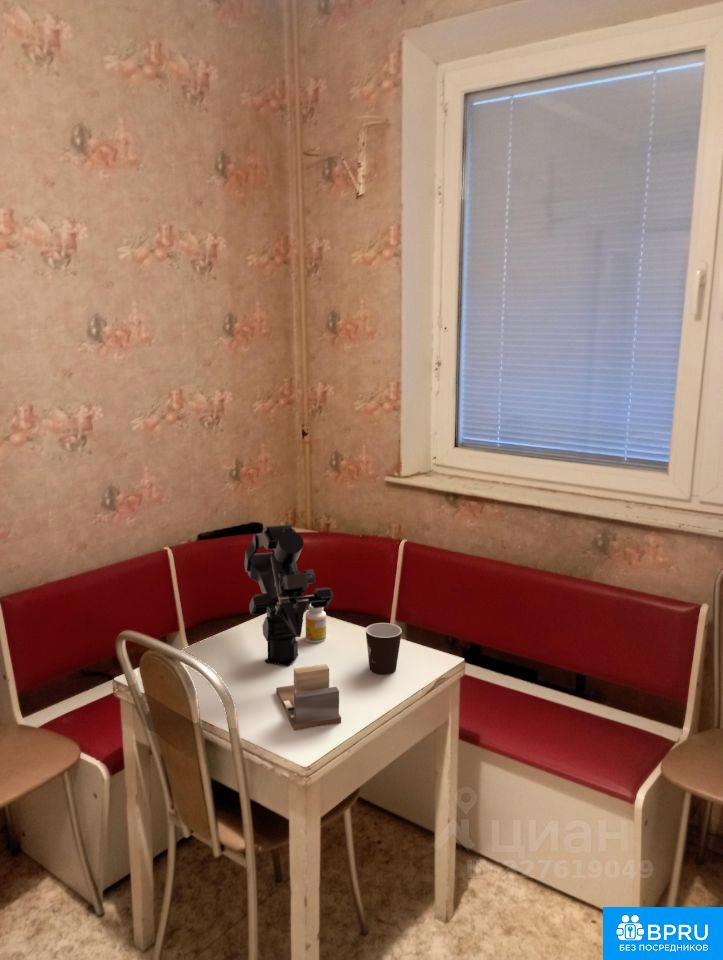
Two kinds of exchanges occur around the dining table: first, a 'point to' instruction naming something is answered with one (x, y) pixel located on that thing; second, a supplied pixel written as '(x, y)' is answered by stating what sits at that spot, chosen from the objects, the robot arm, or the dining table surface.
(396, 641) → the coffee mug
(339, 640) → the dining table surface
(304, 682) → the pad
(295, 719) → the gauge track
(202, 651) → the dining table surface
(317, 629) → the supplement bottle
